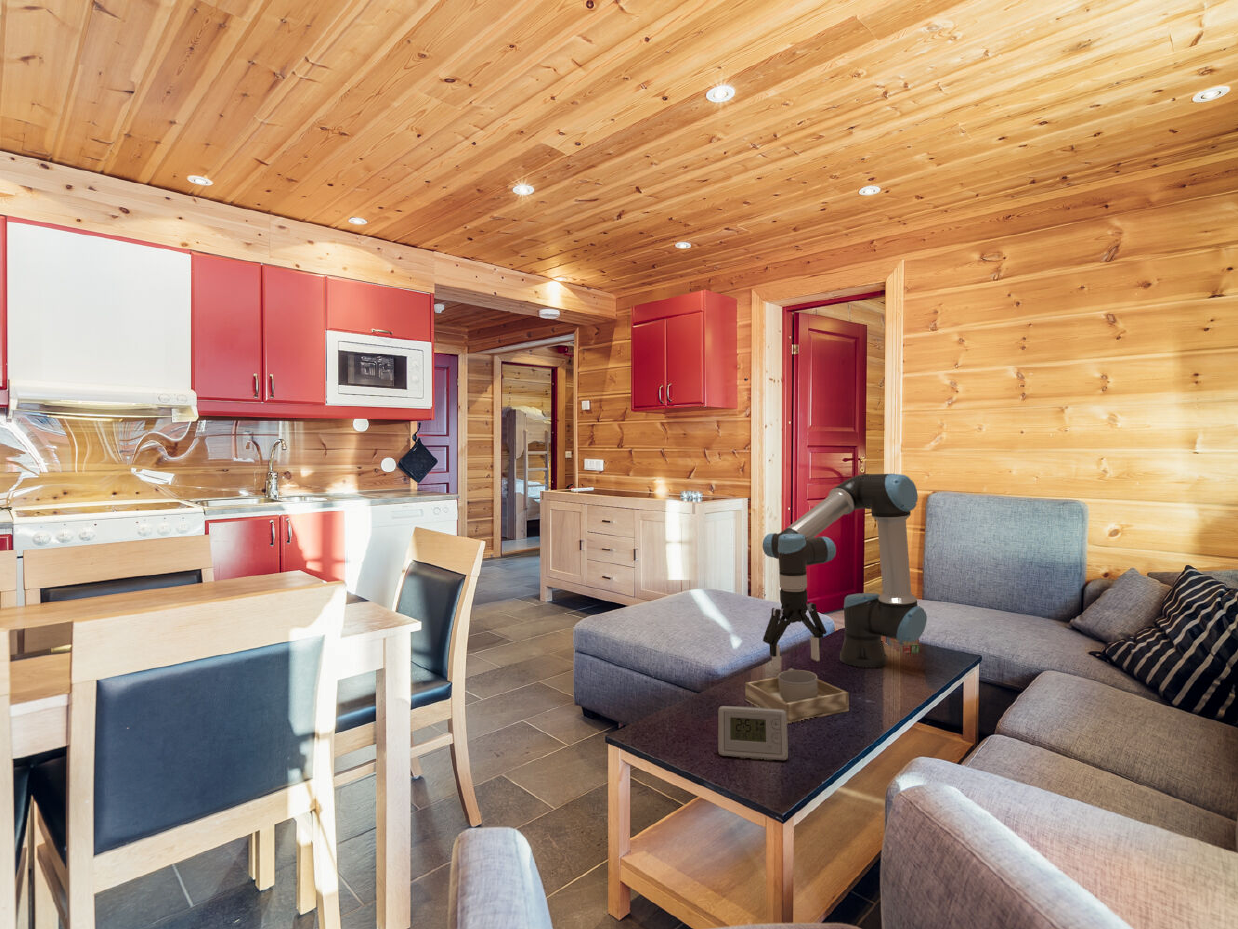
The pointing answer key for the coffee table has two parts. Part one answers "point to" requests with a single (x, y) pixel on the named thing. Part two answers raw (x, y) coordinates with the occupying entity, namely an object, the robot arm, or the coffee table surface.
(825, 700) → the walled box
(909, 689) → the coffee table surface
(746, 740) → the digital clock
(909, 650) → the stack of blocks
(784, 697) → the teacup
